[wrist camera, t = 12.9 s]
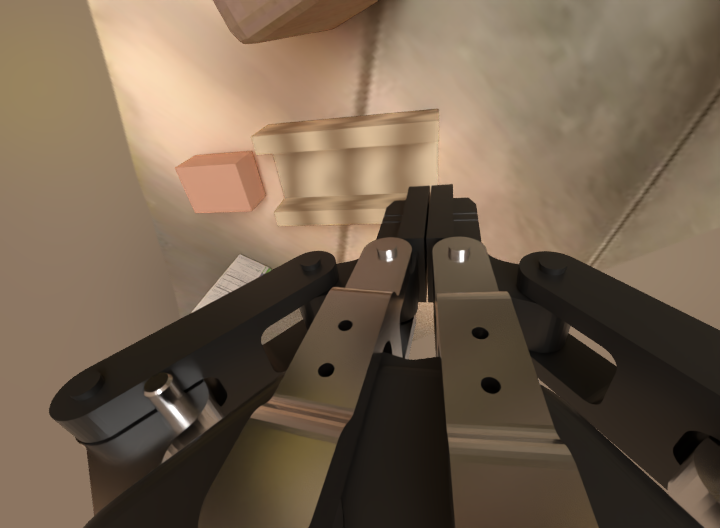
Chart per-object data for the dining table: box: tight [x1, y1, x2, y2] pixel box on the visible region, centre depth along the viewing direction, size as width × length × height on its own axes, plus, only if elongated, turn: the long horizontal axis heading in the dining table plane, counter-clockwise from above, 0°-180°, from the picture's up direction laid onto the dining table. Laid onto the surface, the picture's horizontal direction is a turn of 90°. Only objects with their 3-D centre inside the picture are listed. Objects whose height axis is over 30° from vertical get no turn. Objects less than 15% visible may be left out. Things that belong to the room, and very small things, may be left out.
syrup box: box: [191, 254, 271, 313], centre depth 50 cm, size 6×6×14 cm
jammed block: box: [175, 151, 266, 213], centre depth 42 cm, size 8×6×4 cm
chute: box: [251, 109, 439, 226], centre depth 40 cm, size 20×11×5 cm, turn 97°
